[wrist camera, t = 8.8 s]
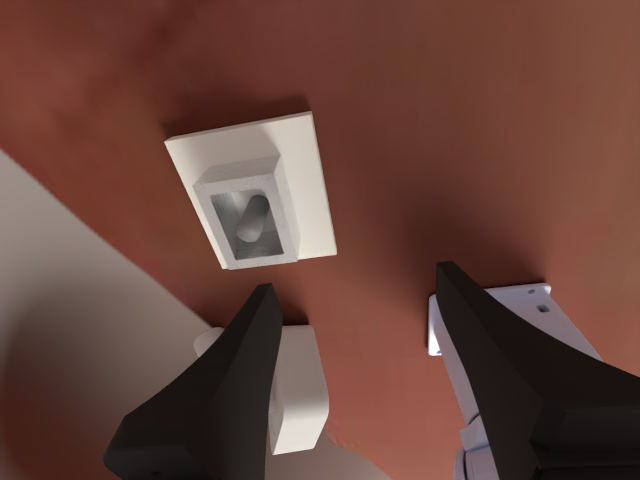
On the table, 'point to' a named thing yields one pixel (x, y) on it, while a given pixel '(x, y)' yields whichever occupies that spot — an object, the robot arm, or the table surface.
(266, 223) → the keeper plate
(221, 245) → the hollow square tube
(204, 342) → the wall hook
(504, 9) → the table surface
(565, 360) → the robot arm
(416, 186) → the table surface
